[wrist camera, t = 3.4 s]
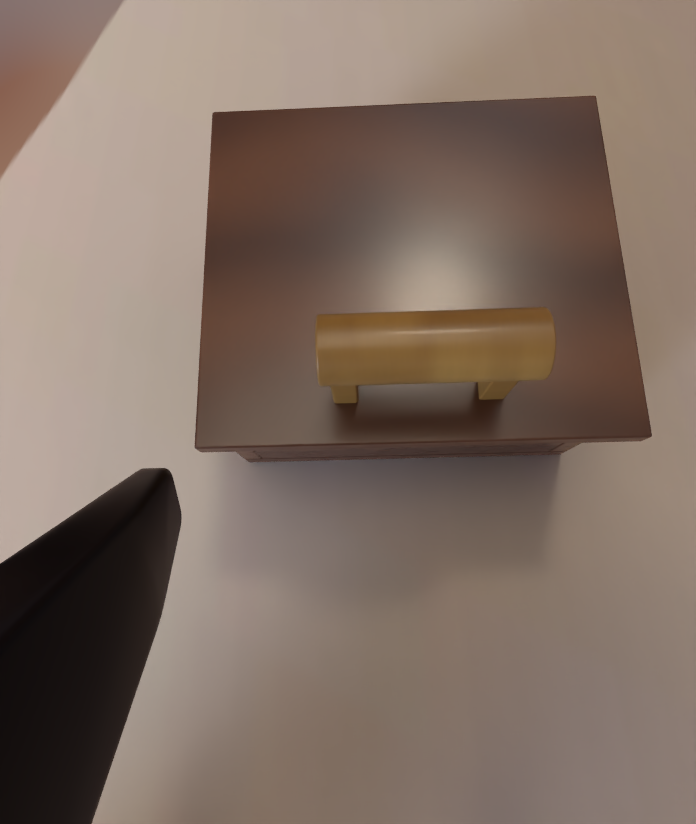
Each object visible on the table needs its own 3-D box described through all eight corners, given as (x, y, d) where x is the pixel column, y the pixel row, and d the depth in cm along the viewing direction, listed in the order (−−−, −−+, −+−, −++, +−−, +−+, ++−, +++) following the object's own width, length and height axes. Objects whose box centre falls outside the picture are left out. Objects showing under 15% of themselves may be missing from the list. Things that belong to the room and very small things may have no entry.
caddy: (561, 454, 22) (636, 414, 16) (247, 462, 22) (202, 425, 16) (533, 222, 24) (588, 110, 18) (254, 232, 25) (217, 126, 19)
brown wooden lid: (642, 441, 15) (754, 393, 11) (200, 452, 16) (133, 411, 11) (589, 109, 18) (660, -36, 14) (216, 125, 19) (169, -12, 14)
